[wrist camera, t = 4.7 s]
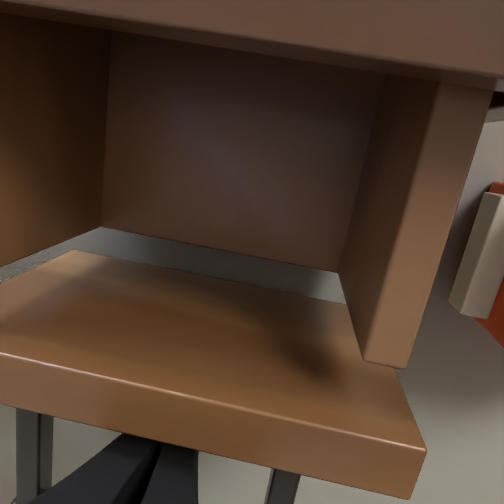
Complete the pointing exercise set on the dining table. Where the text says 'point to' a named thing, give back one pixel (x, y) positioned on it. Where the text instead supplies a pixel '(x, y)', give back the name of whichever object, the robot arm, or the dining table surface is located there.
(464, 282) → the orange block
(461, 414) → the dining table surface
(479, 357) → the dining table surface
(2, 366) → the drawer
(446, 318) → the dining table surface
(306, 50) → the cabinet
